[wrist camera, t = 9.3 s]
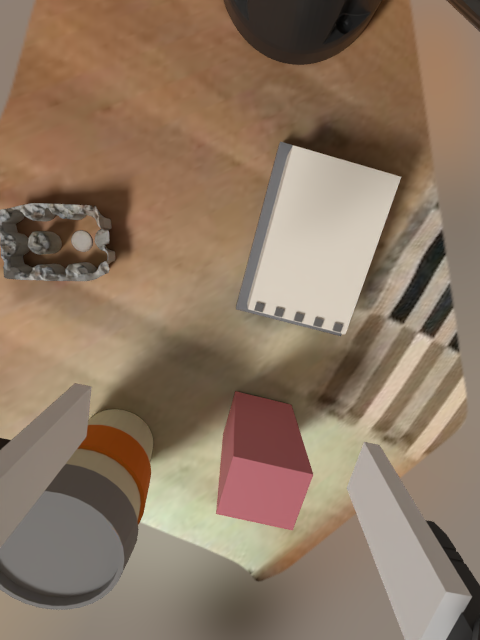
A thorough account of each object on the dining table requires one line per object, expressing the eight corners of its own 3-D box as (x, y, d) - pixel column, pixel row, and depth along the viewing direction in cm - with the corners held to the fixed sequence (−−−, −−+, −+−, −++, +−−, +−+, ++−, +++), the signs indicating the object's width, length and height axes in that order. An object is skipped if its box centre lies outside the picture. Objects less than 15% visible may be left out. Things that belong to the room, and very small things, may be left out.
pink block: (235, 391, 39) (233, 456, 27) (291, 404, 39) (313, 474, 27) (223, 434, 40) (216, 513, 28) (277, 446, 40) (292, 530, 29)
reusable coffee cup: (76, 383, 39) (-22, 470, 24) (178, 410, 40) (143, 510, 25) (60, 470, 42) (-37, 593, 27) (155, 493, 42) (111, 625, 28)
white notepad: (278, 146, 33) (285, 128, 27) (390, 178, 33) (417, 167, 28) (236, 306, 36) (235, 317, 31) (336, 332, 37) (352, 346, 32)
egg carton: (114, 207, 34) (98, 202, 30) (119, 278, 36) (104, 282, 32) (13, 205, 34) (-17, 200, 30) (23, 276, 36) (-4, 281, 32)
